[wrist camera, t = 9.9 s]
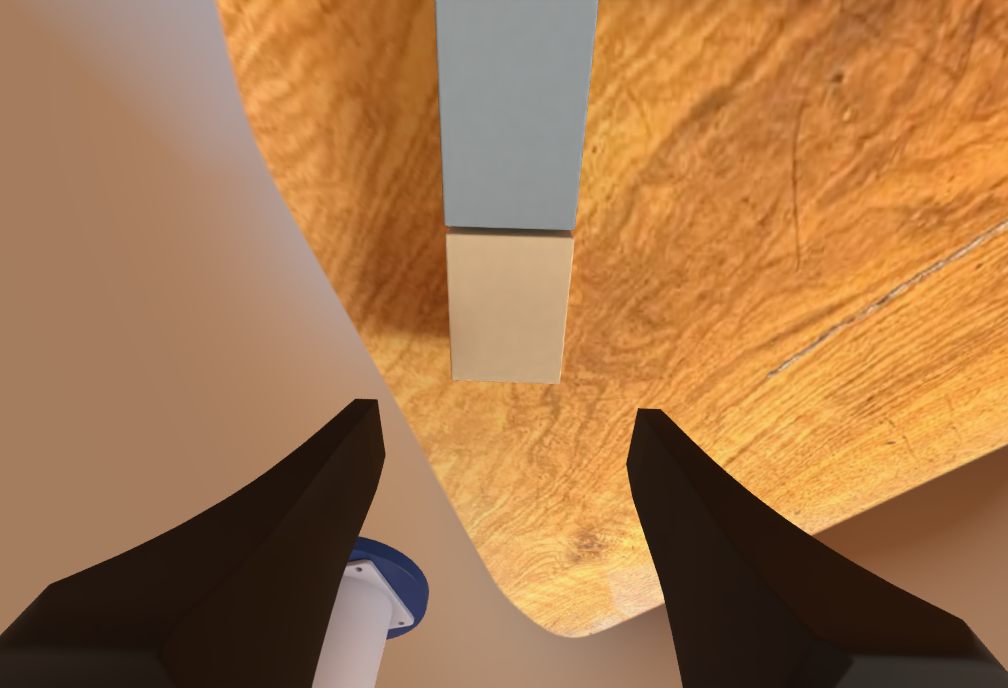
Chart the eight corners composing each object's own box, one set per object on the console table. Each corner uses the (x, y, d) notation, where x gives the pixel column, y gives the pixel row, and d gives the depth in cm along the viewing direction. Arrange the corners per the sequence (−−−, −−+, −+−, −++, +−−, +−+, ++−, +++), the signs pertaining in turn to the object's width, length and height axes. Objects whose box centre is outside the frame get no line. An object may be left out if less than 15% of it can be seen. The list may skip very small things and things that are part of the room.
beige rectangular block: (553, 342, 21) (559, 385, 18) (461, 339, 21) (451, 380, 18) (565, 214, 18) (575, 238, 15) (457, 210, 18) (444, 234, 15)
